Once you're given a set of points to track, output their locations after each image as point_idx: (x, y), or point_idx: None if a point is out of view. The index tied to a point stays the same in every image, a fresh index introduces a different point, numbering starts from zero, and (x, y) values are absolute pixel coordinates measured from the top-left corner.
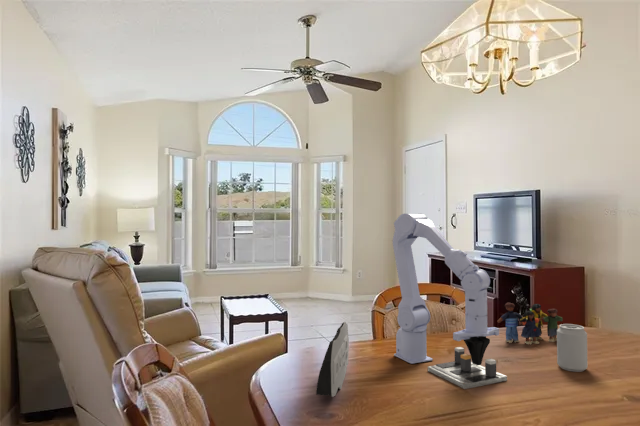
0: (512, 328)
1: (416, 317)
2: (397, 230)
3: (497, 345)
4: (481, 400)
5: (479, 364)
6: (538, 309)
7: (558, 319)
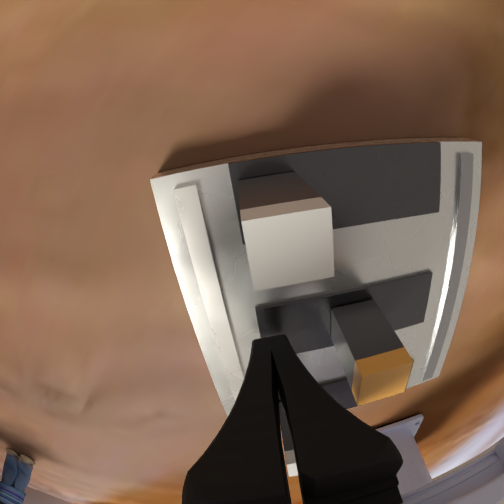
0: (11, 482)
1: None
2: None
3: (57, 462)
4: (463, 5)
5: (269, 338)
6: None
7: None
